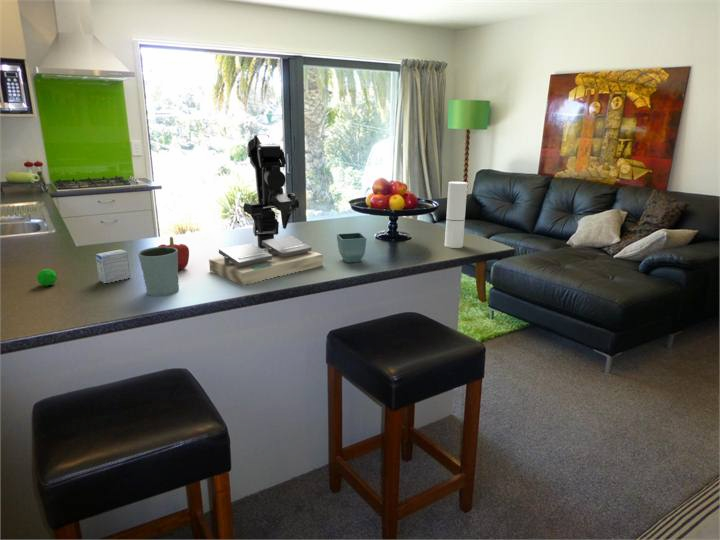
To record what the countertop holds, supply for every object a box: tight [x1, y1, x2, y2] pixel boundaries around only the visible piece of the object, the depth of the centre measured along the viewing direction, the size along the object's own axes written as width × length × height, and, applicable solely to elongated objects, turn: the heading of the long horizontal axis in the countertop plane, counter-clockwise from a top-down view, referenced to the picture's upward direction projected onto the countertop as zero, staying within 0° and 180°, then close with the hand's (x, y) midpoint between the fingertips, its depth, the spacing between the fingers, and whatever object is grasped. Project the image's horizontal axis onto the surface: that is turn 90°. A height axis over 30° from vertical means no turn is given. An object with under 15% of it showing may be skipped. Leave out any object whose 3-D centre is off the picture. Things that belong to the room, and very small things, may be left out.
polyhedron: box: [36, 268, 58, 287], centre depth 142 cm, size 5×5×5 cm
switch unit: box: [208, 240, 324, 286], centre depth 161 cm, size 20×31×7 cm, turn 135°
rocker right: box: [262, 235, 312, 257], centre depth 165 cm, size 12×12×2 cm
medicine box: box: [94, 249, 132, 284], centre depth 147 cm, size 8×4×9 cm, turn 141°
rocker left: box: [218, 242, 272, 267], centre depth 154 cm, size 12×12×2 cm
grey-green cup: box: [137, 246, 180, 297], centre depth 137 cm, size 10×10×12 cm
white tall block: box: [444, 181, 468, 249], centre depth 190 cm, size 7×7×25 cm
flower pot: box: [336, 232, 367, 263], centre depth 170 cm, size 9×9×9 cm
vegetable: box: [157, 236, 190, 271], centre depth 158 cm, size 11×10×10 cm
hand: (273, 230), depth 164 cm, fingers open, 9 cm apart
